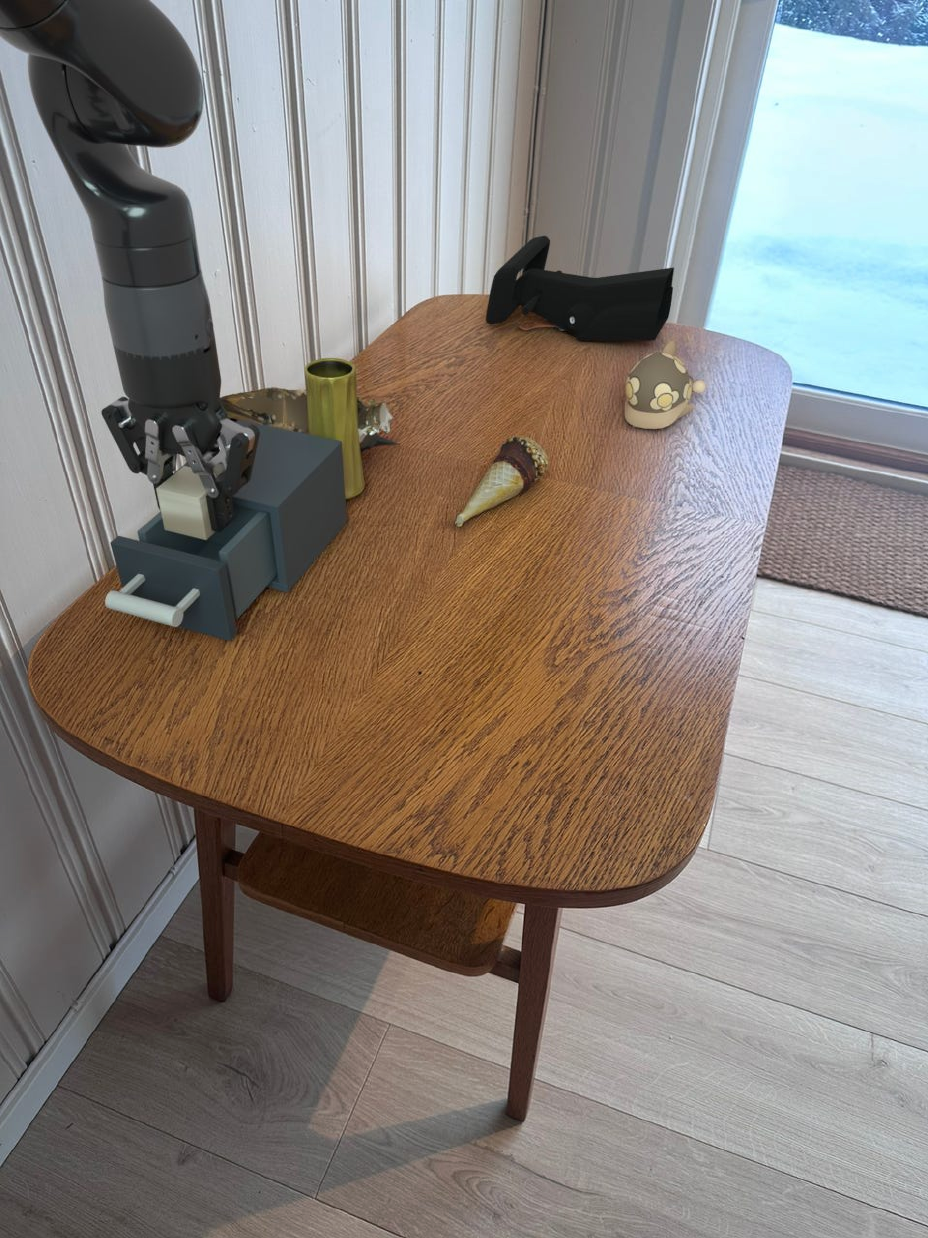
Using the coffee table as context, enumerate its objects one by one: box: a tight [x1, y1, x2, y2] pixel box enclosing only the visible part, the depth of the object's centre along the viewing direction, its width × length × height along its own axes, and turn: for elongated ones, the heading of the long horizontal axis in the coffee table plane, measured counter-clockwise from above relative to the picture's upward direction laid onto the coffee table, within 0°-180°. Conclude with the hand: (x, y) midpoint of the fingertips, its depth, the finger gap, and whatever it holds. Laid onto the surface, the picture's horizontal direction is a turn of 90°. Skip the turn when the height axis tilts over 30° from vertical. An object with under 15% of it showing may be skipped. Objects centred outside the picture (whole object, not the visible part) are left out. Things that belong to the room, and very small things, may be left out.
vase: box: [304, 357, 366, 501], centre depth 95 cm, size 6×6×14 cm
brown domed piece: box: [624, 338, 707, 430], centre depth 116 cm, size 10×11×15 cm
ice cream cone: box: [454, 434, 549, 527], centre depth 98 cm, size 6×6×15 cm
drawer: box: [104, 504, 277, 642], centre depth 79 cm, size 16×11×8 cm, turn 160°
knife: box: [518, 320, 566, 332], centre depth 140 cm, size 13×1×3 cm
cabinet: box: [173, 420, 348, 593], centre depth 88 cm, size 13×12×10 cm
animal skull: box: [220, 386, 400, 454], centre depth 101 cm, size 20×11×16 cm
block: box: [156, 465, 217, 540], centre depth 77 cm, size 4×4×4 cm
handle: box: [485, 235, 675, 342], centre depth 135 cm, size 17×27×15 cm, turn 67°
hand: (198, 520), depth 78 cm, fingers closed on block, 4 cm apart
